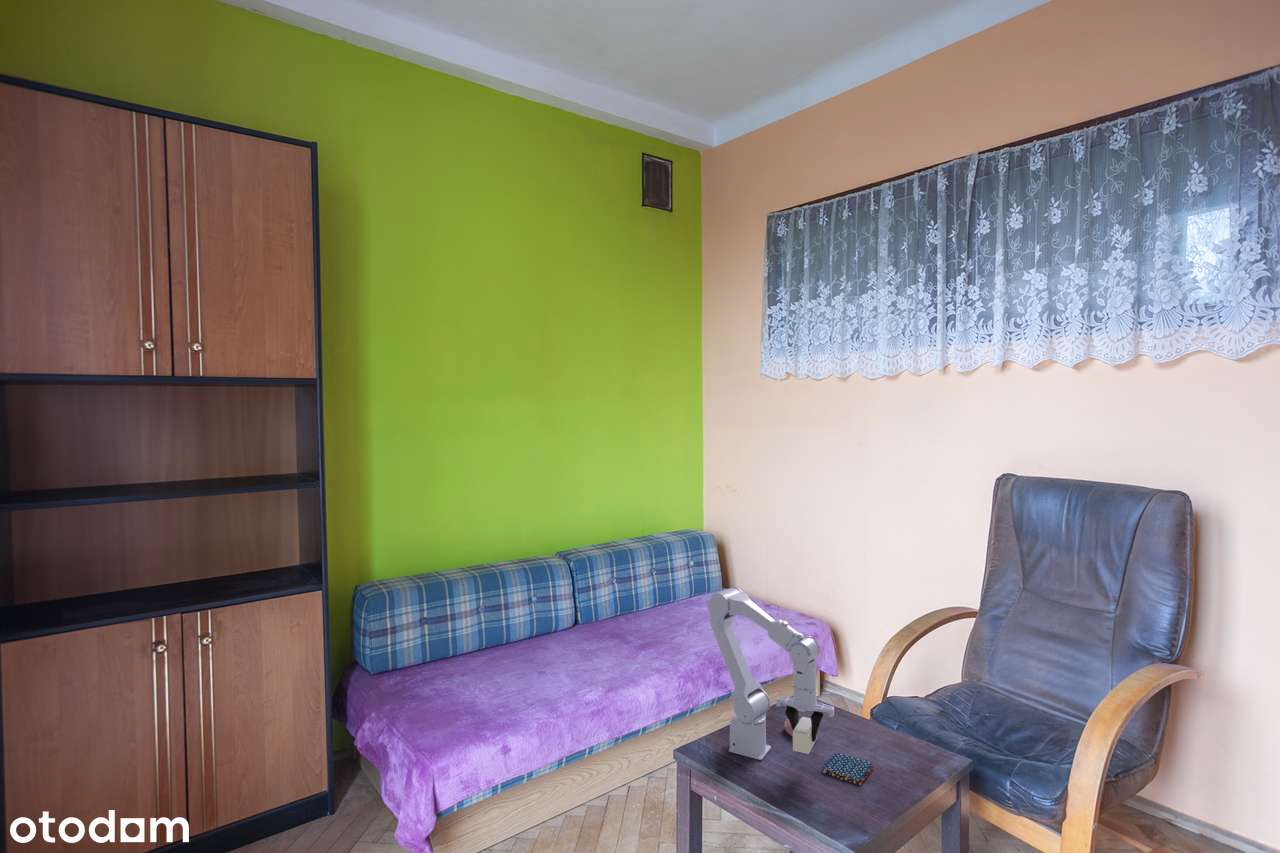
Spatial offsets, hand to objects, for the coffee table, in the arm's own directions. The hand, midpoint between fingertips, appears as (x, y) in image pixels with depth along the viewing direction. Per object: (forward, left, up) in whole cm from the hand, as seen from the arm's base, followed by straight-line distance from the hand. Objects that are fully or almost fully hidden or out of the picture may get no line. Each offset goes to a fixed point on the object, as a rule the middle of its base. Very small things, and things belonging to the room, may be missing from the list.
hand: (805, 737), depth 172 cm
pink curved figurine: (-5, +21, -7) cm, 22 cm away
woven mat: (+9, +6, -9) cm, 15 cm away
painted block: (0, 0, -2) cm, 2 cm away
